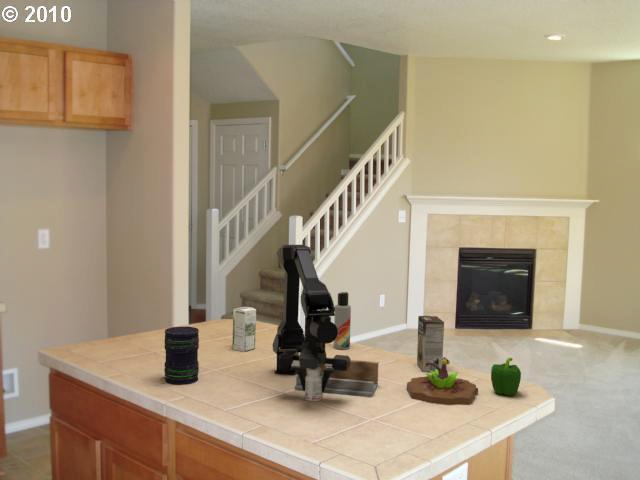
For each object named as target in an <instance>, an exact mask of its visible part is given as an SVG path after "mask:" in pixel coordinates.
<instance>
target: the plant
mask: <svg viewBox="0 0 640 480" xmlns="http://www.w3.org/2000/svg"><path fill="white" fill-rule="evenodd" d="M450 363H451V361H450V359H448V358H446V357H445V356H443V359H442V368H439V367H438V366H437V365H436V364H434V363H430V362H429V363H428V362H427V363H425V364H424V367H425V368H427V367H428V366H429V365H433V366H434V367H436V370H435V372H433V371H431V372H430V373H431V374H430V373H429V372H424V374H425V375H426V376H418V377H412V378H410V381H408V382H407V383H406V391H407V392H408V395H409V397H410V398H411V399H413V400H418V401H422V402H424V401H425V403H428V404H429V403H430V404H434V403H435V404H436V405H437V404H438V405H445V406H446V405H447V406H452V405H467V406H471V404H473V402H474V400H475V397H476V396H478V395H479V388H478V387H477V384H475V383H473V382H470V381H469V380H466V379H463V378H459V377H457V376H458V375H459V372H458V371H455V372H452V373H450V374H449V372H448V368H447V365H450Z"/></svg>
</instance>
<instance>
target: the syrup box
mask: <svg viewBox="0 0 640 480" xmlns="http://www.w3.org/2000/svg"><path fill="white" fill-rule="evenodd" d="M256 323H257V309H256V308H254V307H252V306H251V307H250V306H243V307H242V306H241V307H237V308H233V314H232V350H233V351H237V352H238V351H239V352H243V353H245V352H249V351H252V350H255V349H256V329H257V328H256V326H257V325H256Z"/></svg>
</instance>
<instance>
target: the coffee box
mask: <svg viewBox="0 0 640 480" xmlns="http://www.w3.org/2000/svg"><path fill="white" fill-rule="evenodd" d="M444 335H445V321H444V320H442V319H441V318H439V317H438V316H437V315H418V321H417V349H416V350H417V351H416V354H417V355H416V356H417V357H416V364H417V366H418V367H419V369H421V371H422V372H423V373H431V371H433V372H435V370H436V367H434V366H433V365H429V366H428V367H427V368H425V367H424V364H425V363H427V362H428V363H429V362H430V363H434V364H436V365H437V366H438V367H439V368H442V359H443V357H444V337H445V336H444Z"/></svg>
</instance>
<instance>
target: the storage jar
mask: <svg viewBox="0 0 640 480" xmlns="http://www.w3.org/2000/svg"><path fill="white" fill-rule="evenodd" d="M199 332H200V331H199V328H197V327H193V326H173V327H167V328H165V330H164V342H163V343H164V350H165V362H164V365H163V366H164V369H163V371H164V377H165V378H164V382H165V383H166V384H169V385H174V386H186V385H191V384H196V383H197V382H198V381H199V371H200V369H199V368H200V367H199V364H200V363H199V361H198V360H199V359H198V356H199V355H198V354H199V352H198V350H199V345H200V338H199Z"/></svg>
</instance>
